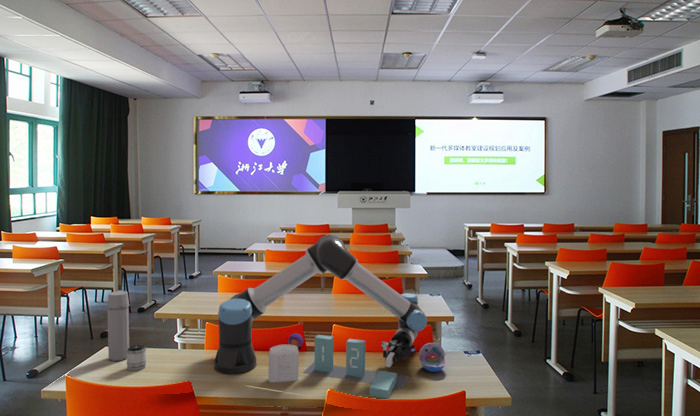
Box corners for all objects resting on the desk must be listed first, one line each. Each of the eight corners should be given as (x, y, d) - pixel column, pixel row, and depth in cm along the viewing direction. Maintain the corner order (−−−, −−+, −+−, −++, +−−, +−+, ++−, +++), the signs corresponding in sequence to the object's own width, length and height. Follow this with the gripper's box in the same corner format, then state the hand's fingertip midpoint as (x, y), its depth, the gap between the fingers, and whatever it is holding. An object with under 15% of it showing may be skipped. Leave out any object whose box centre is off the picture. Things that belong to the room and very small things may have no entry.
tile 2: (345, 375, 167) (346, 341, 166) (348, 371, 170) (349, 338, 169) (362, 377, 165) (362, 343, 165) (364, 374, 168) (365, 340, 168)
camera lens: (126, 372, 168) (126, 350, 167) (127, 366, 174) (127, 344, 173) (146, 370, 170) (145, 348, 170) (146, 363, 176) (146, 342, 175)
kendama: (276, 353, 177) (288, 332, 197) (279, 368, 178) (291, 345, 198) (291, 351, 177) (302, 330, 196) (294, 366, 177) (305, 343, 197)
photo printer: (297, 376, 167) (298, 341, 166) (299, 381, 163) (299, 346, 162) (268, 378, 164) (268, 343, 164) (268, 384, 160) (268, 348, 159)
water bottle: (121, 362, 176) (120, 296, 175) (103, 360, 178) (101, 294, 176) (137, 353, 185) (136, 290, 184) (119, 351, 187) (118, 289, 185)
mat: (302, 373, 169) (302, 372, 169) (313, 363, 178) (313, 362, 178) (402, 389, 158) (402, 388, 158) (408, 377, 167) (408, 376, 167)
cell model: (422, 377, 167) (423, 350, 166) (415, 364, 179) (416, 339, 178) (450, 377, 168) (451, 350, 167) (442, 363, 180) (442, 338, 179)
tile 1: (314, 370, 171) (314, 337, 170) (317, 366, 174) (317, 334, 173) (329, 372, 169) (330, 339, 168) (333, 369, 172) (333, 336, 171)
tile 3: (379, 379, 164) (369, 396, 152) (379, 370, 163) (369, 387, 152) (396, 382, 162) (387, 399, 150) (396, 373, 161) (387, 390, 150)
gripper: (419, 352, 183) (406, 376, 160) (385, 347, 187) (369, 371, 164) (419, 332, 182) (407, 354, 160) (386, 329, 186) (369, 349, 164)
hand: (388, 363), depth 162 cm, fingers closed
